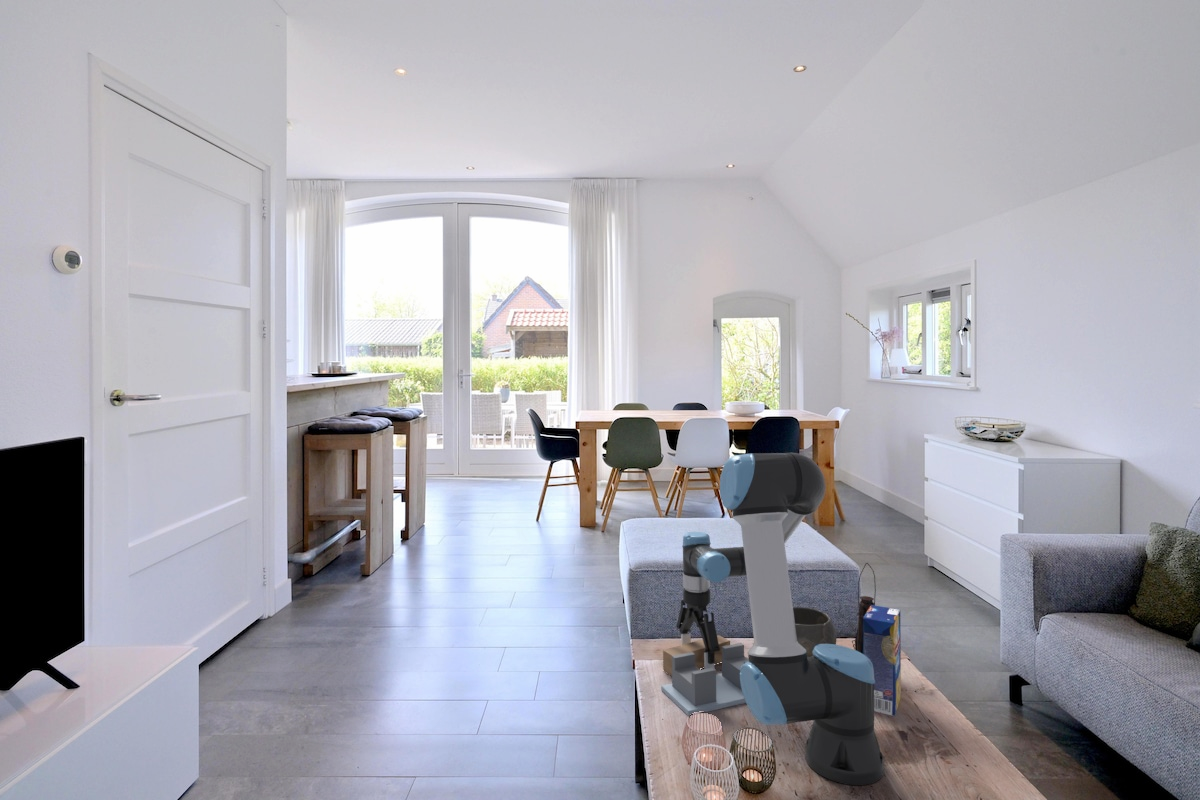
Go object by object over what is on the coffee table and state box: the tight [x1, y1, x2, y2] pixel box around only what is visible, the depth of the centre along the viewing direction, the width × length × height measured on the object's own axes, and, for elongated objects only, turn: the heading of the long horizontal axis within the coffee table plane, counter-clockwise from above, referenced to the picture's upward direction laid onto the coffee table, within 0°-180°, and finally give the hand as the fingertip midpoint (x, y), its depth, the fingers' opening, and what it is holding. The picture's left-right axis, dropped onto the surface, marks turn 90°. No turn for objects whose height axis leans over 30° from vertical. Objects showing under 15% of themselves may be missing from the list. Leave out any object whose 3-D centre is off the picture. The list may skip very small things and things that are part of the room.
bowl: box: [793, 606, 837, 657], centre depth 181 cm, size 18×18×13 cm
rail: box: [662, 634, 731, 677], centre depth 177 cm, size 20×5×6 cm, turn 121°
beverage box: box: [863, 604, 902, 717], centre depth 155 cm, size 7×11×22 cm, turn 148°
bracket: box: [660, 642, 749, 717], centre depth 161 cm, size 14×26×9 cm, turn 112°
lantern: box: [851, 562, 877, 654], centre depth 171 cm, size 8×8×30 cm
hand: (697, 665), depth 177 cm, fingers open, 12 cm apart
